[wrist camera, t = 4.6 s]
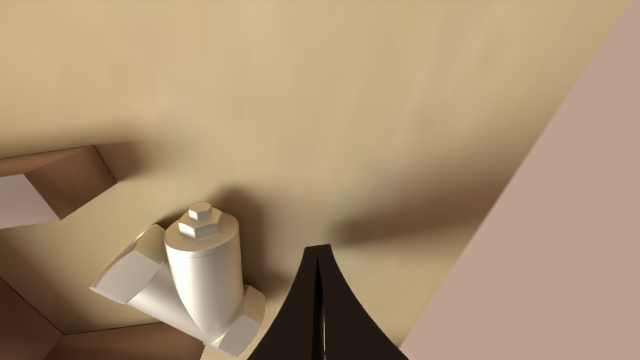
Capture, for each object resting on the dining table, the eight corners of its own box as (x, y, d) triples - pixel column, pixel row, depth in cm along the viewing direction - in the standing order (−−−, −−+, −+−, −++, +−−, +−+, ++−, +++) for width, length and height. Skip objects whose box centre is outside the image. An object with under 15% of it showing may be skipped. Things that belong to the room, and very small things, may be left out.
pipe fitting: (203, 174, 12) (127, 246, 14) (168, 214, 9) (69, 306, 10) (304, 256, 15) (233, 309, 17) (308, 311, 12) (218, 372, 13)
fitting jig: (216, 344, 18) (187, 435, 14) (74, 362, 19) (1, 458, 14) (73, 112, 10) (-111, 154, 6) (-180, 151, 10) (-547, 221, 6)
